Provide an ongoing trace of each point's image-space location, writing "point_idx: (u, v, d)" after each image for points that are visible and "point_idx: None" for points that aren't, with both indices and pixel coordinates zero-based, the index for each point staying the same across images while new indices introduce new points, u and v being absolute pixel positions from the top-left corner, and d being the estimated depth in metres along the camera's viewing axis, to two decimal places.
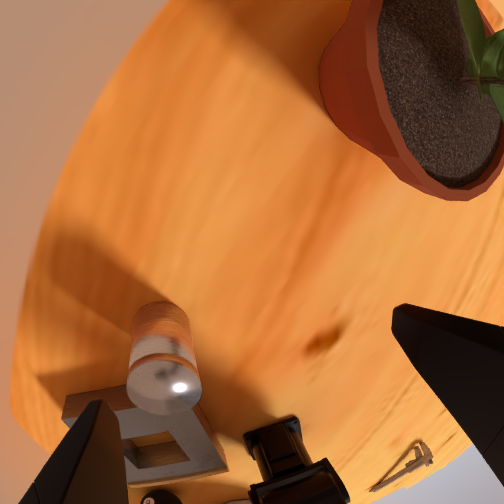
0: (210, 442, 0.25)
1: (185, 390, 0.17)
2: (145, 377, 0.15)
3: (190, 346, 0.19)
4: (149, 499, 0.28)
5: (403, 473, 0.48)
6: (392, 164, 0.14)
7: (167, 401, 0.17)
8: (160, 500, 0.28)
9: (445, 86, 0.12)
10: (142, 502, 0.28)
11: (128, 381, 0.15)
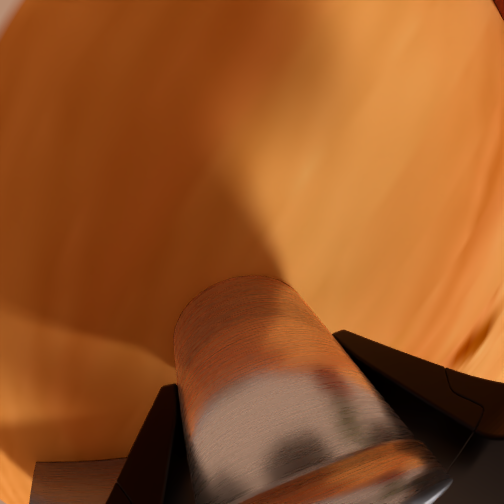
0: None
1: None
2: None
3: None
4: None
5: None
6: None
7: None
8: None
9: None
10: None
11: None
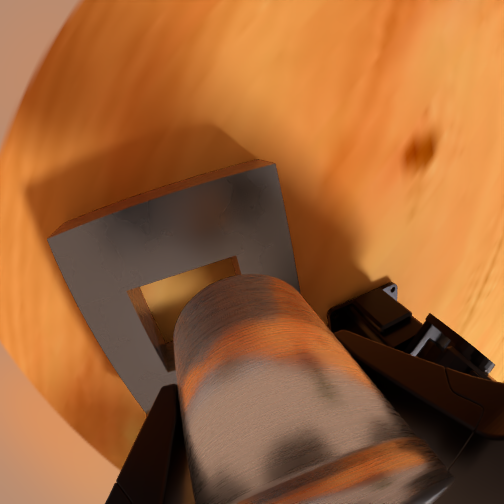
0: None
1: None
2: None
3: None
4: None
5: None
6: None
7: None
8: None
9: None
10: None
11: None
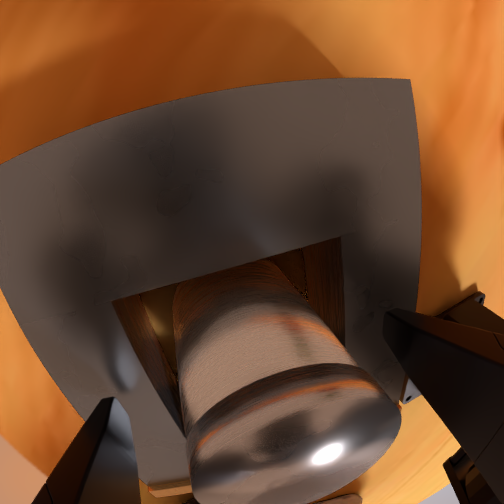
0: (413, 306, 0.10)
1: (358, 455, 0.05)
2: (267, 451, 0.04)
3: None
4: None
5: None
6: None
7: (301, 488, 0.05)
8: None
9: None
10: None
11: (203, 468, 0.04)
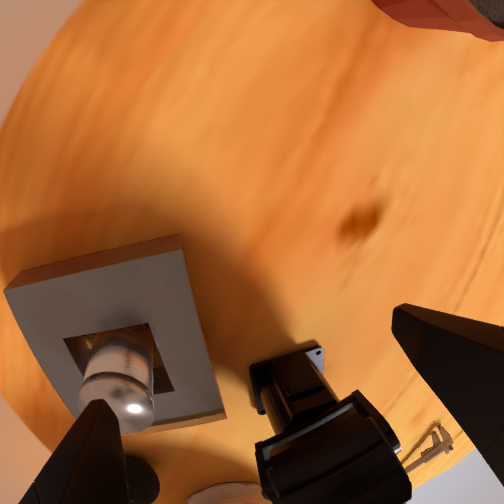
0: (206, 355, 0.19)
1: (137, 412, 0.15)
2: (95, 395, 0.14)
3: (147, 366, 0.17)
4: None
5: (418, 464, 0.42)
6: None
7: (119, 421, 0.15)
8: (128, 467, 0.22)
9: None
10: None
11: (79, 397, 0.13)
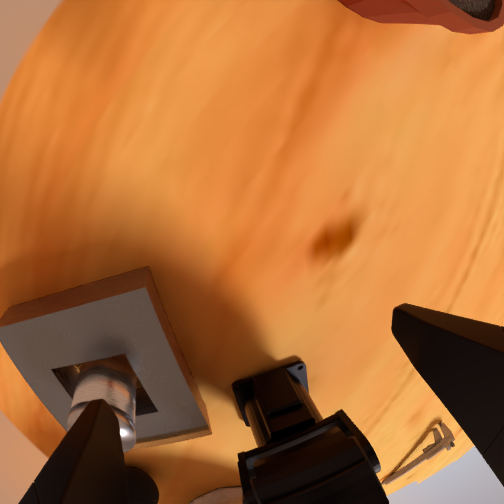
0: (183, 380, 0.19)
1: None
2: None
3: (128, 392, 0.17)
4: None
5: (420, 461, 0.42)
6: None
7: None
8: (127, 478, 0.23)
9: None
10: None
11: (67, 424, 0.14)
